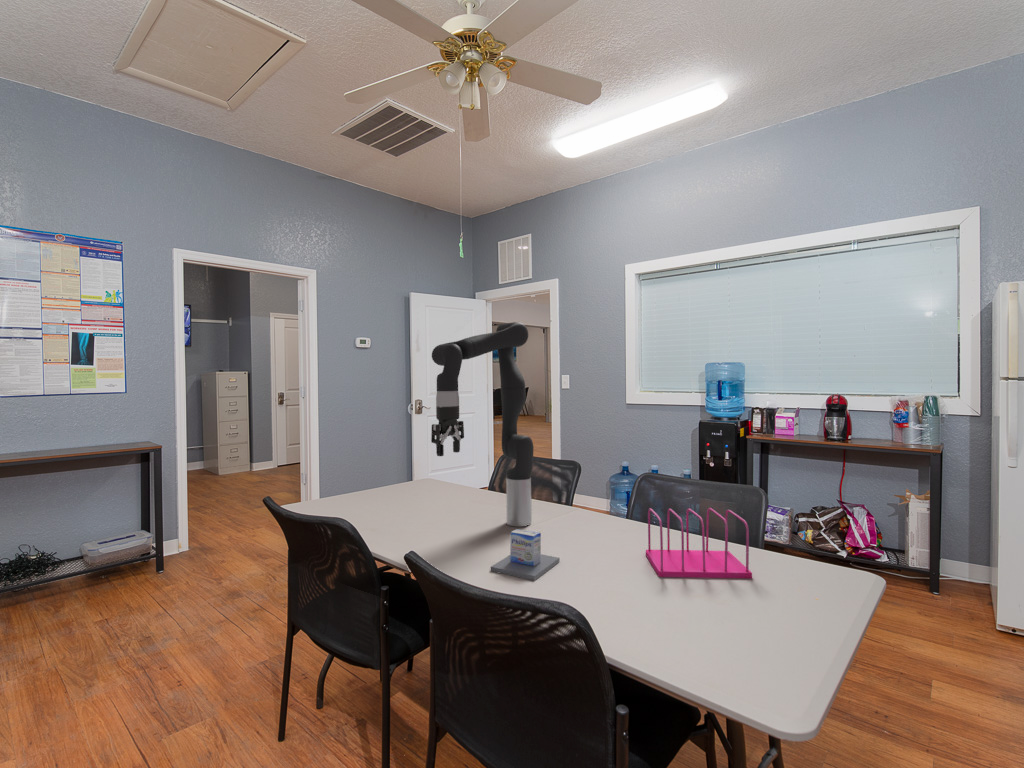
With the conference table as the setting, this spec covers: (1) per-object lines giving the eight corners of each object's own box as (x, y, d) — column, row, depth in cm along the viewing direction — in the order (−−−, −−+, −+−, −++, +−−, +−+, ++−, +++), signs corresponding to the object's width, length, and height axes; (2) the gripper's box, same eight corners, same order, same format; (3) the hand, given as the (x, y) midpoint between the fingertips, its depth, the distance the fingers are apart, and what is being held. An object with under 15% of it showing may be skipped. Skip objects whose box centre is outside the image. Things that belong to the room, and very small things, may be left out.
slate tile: (518, 553, 156) (518, 550, 156) (559, 561, 149) (559, 557, 149) (490, 570, 142) (490, 566, 142) (534, 580, 135) (534, 576, 135)
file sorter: (645, 555, 154) (645, 504, 154) (728, 556, 153) (728, 505, 153) (658, 577, 137) (658, 520, 137) (752, 579, 136) (752, 521, 135)
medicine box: (509, 562, 145) (509, 532, 145) (517, 557, 149) (517, 528, 149) (533, 567, 141) (533, 536, 141) (541, 562, 145) (541, 532, 145)
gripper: (452, 403, 173) (452, 450, 173) (424, 405, 161) (425, 456, 161) (469, 403, 169) (470, 452, 169) (443, 406, 157) (443, 458, 157)
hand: (448, 454), depth 165 cm, fingers open, 8 cm apart
